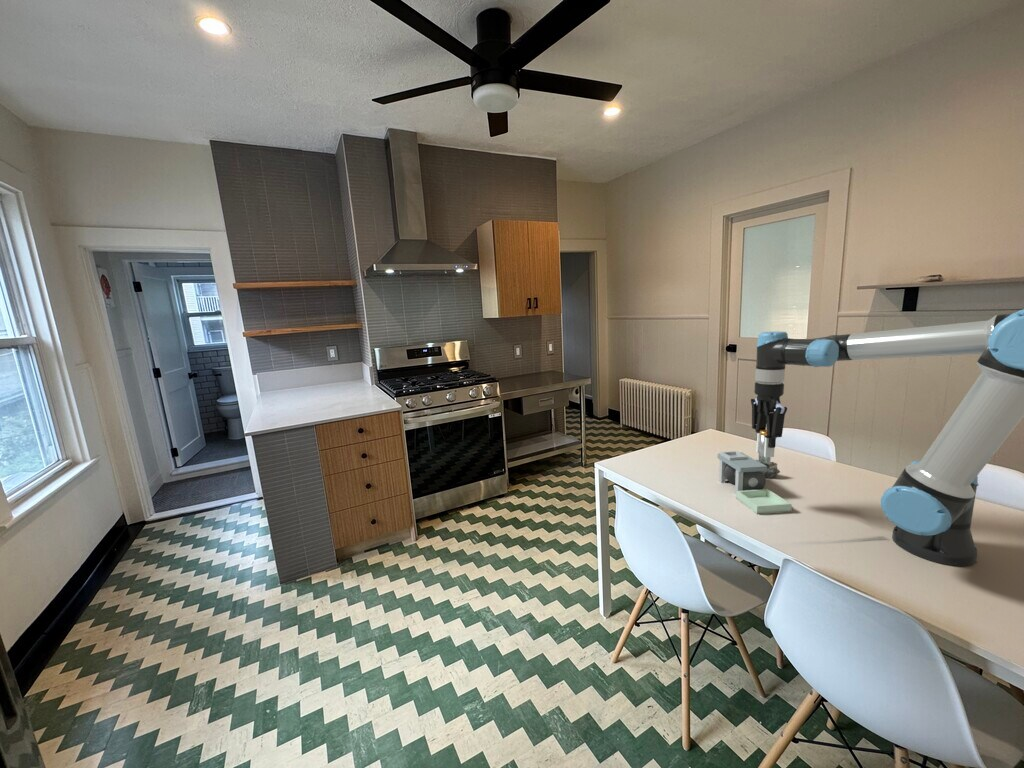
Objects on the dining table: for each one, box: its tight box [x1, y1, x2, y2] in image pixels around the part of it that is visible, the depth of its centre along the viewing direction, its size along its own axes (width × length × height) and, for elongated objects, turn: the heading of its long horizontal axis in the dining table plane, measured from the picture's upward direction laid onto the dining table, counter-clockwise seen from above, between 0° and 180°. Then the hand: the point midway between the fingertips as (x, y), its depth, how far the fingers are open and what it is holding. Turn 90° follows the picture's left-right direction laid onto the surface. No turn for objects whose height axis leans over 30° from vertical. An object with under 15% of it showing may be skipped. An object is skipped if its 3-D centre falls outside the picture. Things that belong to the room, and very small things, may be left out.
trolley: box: [717, 450, 767, 495], centre depth 138 cm, size 14×10×12 cm
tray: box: [735, 488, 792, 515], centre depth 125 cm, size 11×11×3 cm
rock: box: [755, 459, 781, 479], centre depth 146 cm, size 11×6×10 cm
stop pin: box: [757, 429, 772, 463], centre depth 122 cm, size 3×3×10 cm
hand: (764, 454), depth 123 cm, fingers closed on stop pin, 3 cm apart
